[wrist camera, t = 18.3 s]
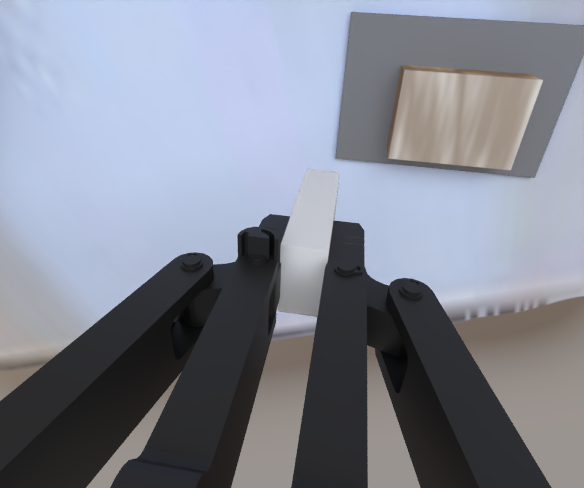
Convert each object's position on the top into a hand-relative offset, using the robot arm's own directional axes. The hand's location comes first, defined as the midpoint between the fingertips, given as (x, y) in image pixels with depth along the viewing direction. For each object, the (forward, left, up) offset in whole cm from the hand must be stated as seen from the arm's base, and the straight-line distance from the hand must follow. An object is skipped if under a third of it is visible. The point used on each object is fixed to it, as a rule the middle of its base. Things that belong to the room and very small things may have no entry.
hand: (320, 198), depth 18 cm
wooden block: (+5, 0, -18) cm, 19 cm away
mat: (+9, +1, -20) cm, 22 cm away
